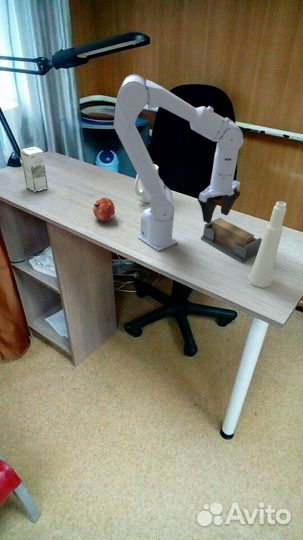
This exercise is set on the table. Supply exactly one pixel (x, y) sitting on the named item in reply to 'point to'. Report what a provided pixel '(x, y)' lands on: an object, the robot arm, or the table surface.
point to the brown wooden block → (231, 234)
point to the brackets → (237, 253)
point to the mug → (142, 189)
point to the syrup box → (34, 168)
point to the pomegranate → (104, 209)
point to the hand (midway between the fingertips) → (215, 217)
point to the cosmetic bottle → (268, 249)
